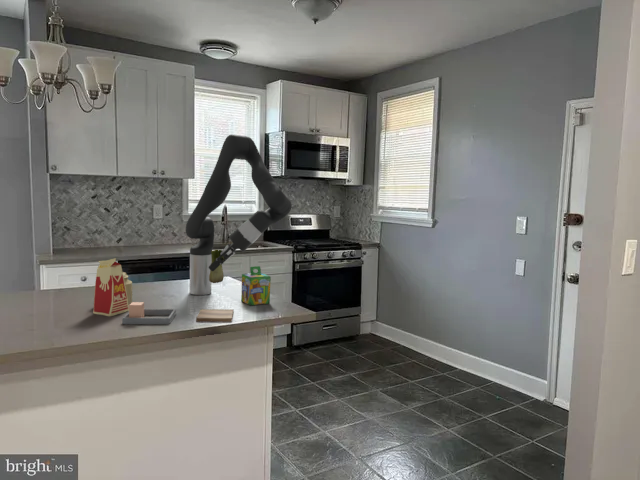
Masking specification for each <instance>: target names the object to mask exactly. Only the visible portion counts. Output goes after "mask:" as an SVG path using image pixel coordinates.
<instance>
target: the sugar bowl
mask: <svg viewBox="0 0 640 480" xmlns="http://www.w3.org/2000/svg"><path fill="white" fill-rule="evenodd" d="M122 272H123V277H124V282H125V287H126V293H127V298H128V305H130V304H131V303H132V302H133V281H132V280H130V279H128V278H129V275H128V274H127V272H124V271H122Z"/></svg>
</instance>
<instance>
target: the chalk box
mask: <svg viewBox="0 0 640 480" xmlns="http://www.w3.org/2000/svg"><path fill="white" fill-rule="evenodd" d="M249 268H250V270H249V271H250V273H249V272H248V273H242V274H241V297H240V298H241V302H243V303H244V304H247V305H249V306H257V305H259V306H260V305H270V302H271V278H272V277H271V276H270V275H268V274H266V273H262V271H261V270H262V268H261V266H260V265H257V266H250V267H249ZM255 270H257V272H255Z"/></svg>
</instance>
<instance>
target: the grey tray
mask: <svg viewBox="0 0 640 480" xmlns="http://www.w3.org/2000/svg"><path fill="white" fill-rule="evenodd" d="M176 315H177V309H176V308H144V316H168V317H144V318H129V311H127V313H126V314H125V315H124V316H123V317H122V318H121V321H122V325H170V324H171V323H172V321H173V320H174V318H175V317H176Z"/></svg>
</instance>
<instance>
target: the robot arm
mask: <svg viewBox="0 0 640 480" xmlns="http://www.w3.org/2000/svg"><path fill="white" fill-rule="evenodd" d="M234 160H241V161H243V160H244V161H246V162H247V163H248V164H249V165H250V167H251V179H252V183H253V184H254V186H255V187H256V189H257V191H258V192H259V193H260V194H261V196H262V198H263V201H264V202H265V203H266V205H267V207H269V208H267V209H266V210H261V209H259V210H256V211H255V212H254V213H253V214H252V215H251V216H250V217H249V218H248V219H247V220H245V222H243V223H242V224H241V225H240V226H238V227H237V229H235V230H234V232H232V233H231V234H230V235H229V239H230V242H232V243H227V245H226V246H225V247H224V249H221V250H222V252H221V253H220V256H219V257H218V258H216V260H215V261H214V262H213V263H212V256H211V251H213V250H214V239H215V223H214V220H213V219H212V218H211V217H209V215H210V214H211V213H212V212H214V211H215V210H216V209H217V208H219V207H220V206H221V205H222V204H224V202H225V200H226V199H227V196H228V195H229V193H230V191H231V189H232V181H231V175H230V168H231V165H232V163H233V162H234ZM210 175H211V176H210V177H209V179H208V181H207V183H206V185H205V188H204V190H203V192H202V195H201V197H200V198H199V201H198V203H197V205H196V206H195V208H194V209H193V211H192V213H191V215H190V216H189V218H188V219H187V221H186V224H185V233H186V236H187V237H188V238H190V239H195V240H196V239H199V241H198V242H197V243H196V244H194V245H193V246H191V247H190V248H189V294H190V295H192V296H193V295H195V296H205V295H210V294H212V283H211V282H210V281H209V275H210V270H211V271H214V270H215V269H216V268H217V267H218V266H219V265H221V264H222V265H223V264H224V263H225V262H226V261H229V260H230V258H231V257H233V256H235V255H236V253H237V251H236V250H237V249H239V250H240V251H242V252H245V251H246V250H248V248H249V247H251V246H252V245H253V244H254V243H255V242H256V241H257V240H258V239H259V238H260V237H261V235H262V234H263V233H264V232H266V230H268V229H269V228H270V226H272V225H274V224H276V223H278V222H279V221H281V220H283V219H284V218H285V217H287V216H288V214H289V213H290V212H291V210H292V209H293V206H292V205H293V204H292V202H291V200H290V199H289V198H288V197H287V195H286V194H285V193H284V192H283V191H282V190H281V188H280V187H279V185H278V183H277V181H276V180H275V178H273V176H272V174H271V173H270V171H269V170H268V169H267V166H266V165H265V163H264V160H263V158H262V156H261V154H260V151H259V150H258V147H257V145H256V143H255V142H254V140H253V138H251V137H250V136H246V135H241V134H236V133H235V134H233V133H231V134H228V135H227V137H226V138H225V139H224V141H223V144H222V147H221V149H220V151H219V156H218V158H217V161H216V163H215V165H214V168H213V171H212V174H210ZM221 257H222V259H221ZM211 263H212V264H211Z"/></svg>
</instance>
